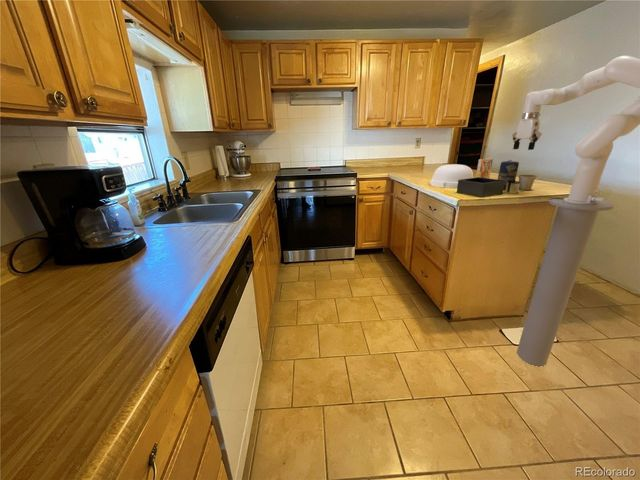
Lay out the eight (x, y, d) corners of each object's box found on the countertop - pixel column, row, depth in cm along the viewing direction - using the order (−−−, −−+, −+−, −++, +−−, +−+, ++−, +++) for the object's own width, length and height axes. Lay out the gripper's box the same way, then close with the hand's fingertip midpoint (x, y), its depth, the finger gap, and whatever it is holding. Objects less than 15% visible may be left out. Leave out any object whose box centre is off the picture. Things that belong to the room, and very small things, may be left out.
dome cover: (440, 180, 215) (442, 162, 210) (480, 182, 195) (484, 163, 190) (422, 185, 195) (423, 166, 190) (465, 189, 174) (469, 167, 169)
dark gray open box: (502, 193, 158) (505, 180, 155) (481, 197, 152) (483, 183, 150) (476, 189, 174) (478, 177, 171) (456, 192, 168) (458, 179, 165)
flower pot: (531, 191, 161) (535, 177, 158) (513, 189, 168) (516, 175, 165) (535, 189, 167) (539, 175, 164) (517, 187, 173) (520, 174, 170)
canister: (497, 189, 170) (503, 160, 163) (494, 187, 178) (499, 159, 171) (515, 190, 166) (521, 160, 160) (511, 187, 174) (517, 159, 168)
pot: (520, 192, 159) (523, 180, 156) (513, 194, 156) (515, 181, 154) (509, 191, 165) (512, 179, 162) (502, 192, 162) (504, 180, 160)
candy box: (486, 178, 212) (489, 158, 207) (489, 179, 208) (493, 158, 203) (475, 178, 212) (478, 159, 207) (478, 179, 208) (481, 159, 203)
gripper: (551, 115, 139) (542, 149, 145) (522, 117, 155) (515, 148, 161) (539, 115, 138) (531, 150, 144) (511, 118, 154) (504, 149, 160)
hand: (523, 149), depth 152 cm, fingers open, 9 cm apart
